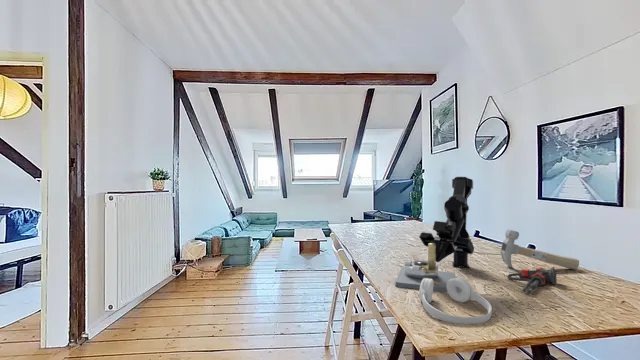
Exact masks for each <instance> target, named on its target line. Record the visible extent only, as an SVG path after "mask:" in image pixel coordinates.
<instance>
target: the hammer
mask: <svg viewBox="0 0 640 360" xmlns="http://www.w3.org/2000/svg"><path fill="white" fill-rule="evenodd" d="M504 236H505V239H504V240H503V241H502V244H501V249H500V255H501V259H502V261H503V262H504V264H506V265H507V266H508V267H509V268H511V269H513V270H515V268H514V267H513V265H512V255H516V256H517V255H520V256H525V257H528V258H532V259H534V260H538V261H541V262H544V263H547V264H550V265H554V266H559V267H563V268H567V269H569V270H575V271H576V270H578V268H579V266H580V260H579V259H578V258H575V257H571V256H570V257H569V256H563V255H558V254H554V253H550V252H546V251H542V250H538V249H535V248H529V247H524V246H520V245H519V244H516V243H515V241H517V240H518V239H519V236H520V233H519V231H517V230H512V229H506V230H505V235H504Z"/></svg>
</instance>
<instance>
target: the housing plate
mask: <svg viewBox="0 0 640 360" xmlns="http://www.w3.org/2000/svg"><path fill="white" fill-rule="evenodd" d="M399 270H400V271H399V272H398V275H397V278H396V280H395V287H400V288H408V289H415V290H416V289H417V290H420V284H421V281H422V280H423V279H416V278H412V277H409V276H407V275H405V267H401V268H400V269H399ZM453 278H456V273H455V272H451V271H442V270H441V271H440V270H438V277H437V278H435V279H433V281H434V286H433V292H441V293H448V292H447V288H446V286H447V282H448V281H449V280H450V279H453Z"/></svg>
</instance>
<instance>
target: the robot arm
mask: <svg viewBox="0 0 640 360" xmlns="http://www.w3.org/2000/svg"><path fill="white" fill-rule="evenodd" d="M451 188H452V189H453V193H452V195H451V196H450V197H449V198H448V199H447V200H446V201H445V202H444V203H443V204H444V206H443V207H444V211H445V217H446V218H447V219H446V221H438V220H434V222H433V226H432V231H435V232H436V235H435V236H434V235H433V233H432V232H425V231H423V232H420V235H419V239H420V240H421V242H422V244H423V245H424V247H427V248H428V243H435V244H436V263H439V262H441V261H442V260H444V259H446V258H447V257H448V256H450V255H452V254H453V261H452V263H451V264H452V267H454V268H467V269H469V268H470V265H469V261H468V260H469V259H468V258H469V254H470V255H472V254H474V251H475V247H474V243H473V242H472V239H471V238H470V235H469V234H470V233H469V232H468V230H467V214H468V212H469V210H470V207H469V205H468V198H469V197H470V196H471V194H472V190H473V189H474V180H473V179H471V178H468V176H467V177H466V176H456V177H454V178H452V180H451Z"/></svg>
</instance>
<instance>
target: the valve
mask: <svg viewBox="0 0 640 360" xmlns="http://www.w3.org/2000/svg"><path fill="white" fill-rule="evenodd" d="M556 272H557V271H556V269H555V267H554V266H553V267H550V269H549V270H546V269H545V268H544V267H537V268H536V269H535V270H529V269H521V270H519V271H518V272H517V273H516V272H514V273H510V274H507V276H506V277H507V278H508V280H510V281H519V282H520V281H521V282H527V283H526V285H525V286H524V287H523V288H522V293H526V292H527V293H528V294H529V295H531V294H532V293H533V292H534V291H535V289H536V288H537V287H542V286H544V285H545V284H546V282H550V283H551V285H552V286H556V285H557V282H558V281H557V280H558V279H557V273H556Z"/></svg>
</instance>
